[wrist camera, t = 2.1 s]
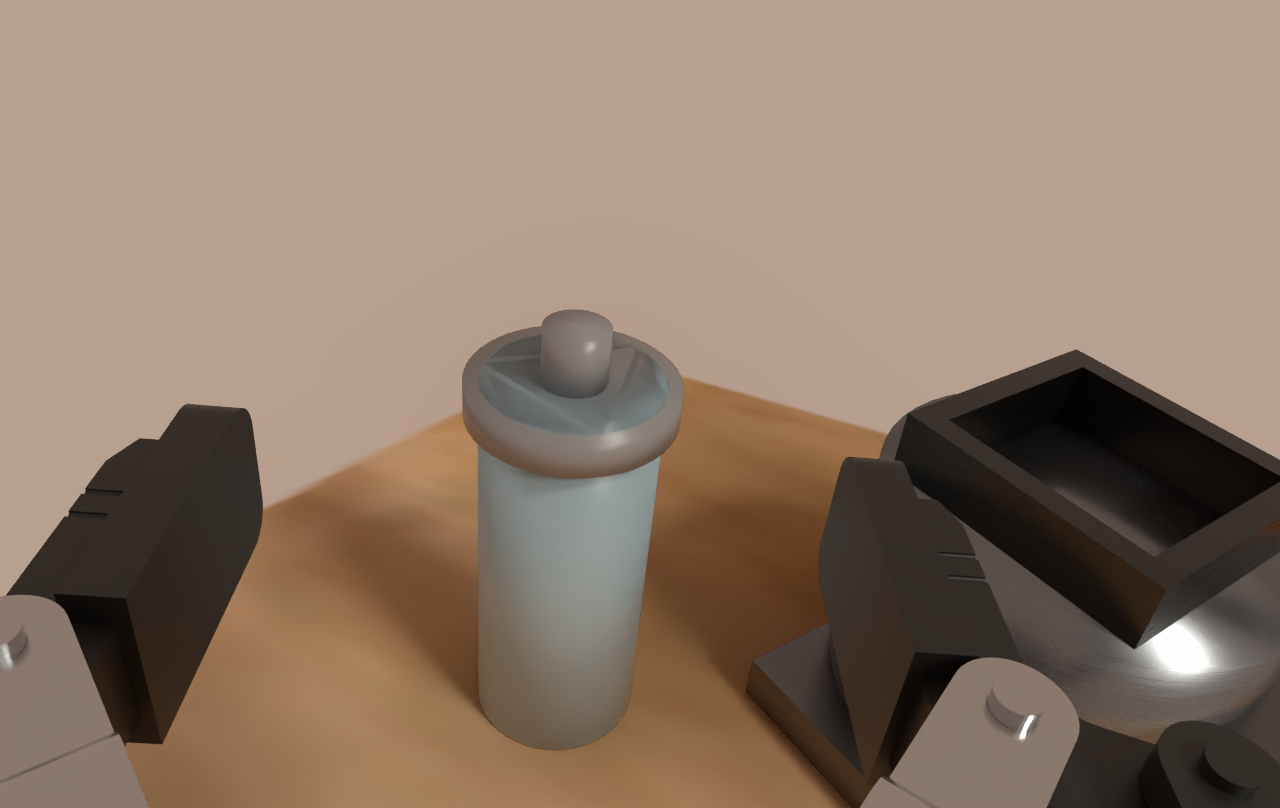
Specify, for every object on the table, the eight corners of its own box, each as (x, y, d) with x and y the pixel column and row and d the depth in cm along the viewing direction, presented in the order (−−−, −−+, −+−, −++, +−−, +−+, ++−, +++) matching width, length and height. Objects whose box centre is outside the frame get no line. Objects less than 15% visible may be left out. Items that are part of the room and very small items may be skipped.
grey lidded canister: (583, 598, 36) (610, 259, 28) (677, 711, 32) (737, 354, 25) (435, 660, 33) (422, 300, 25) (519, 792, 29) (533, 414, 22)
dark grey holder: (989, 538, 41) (1078, 303, 35) (1336, 795, 32) (1539, 537, 26) (727, 670, 34) (782, 404, 28) (1077, 1051, 25) (1274, 778, 18)
